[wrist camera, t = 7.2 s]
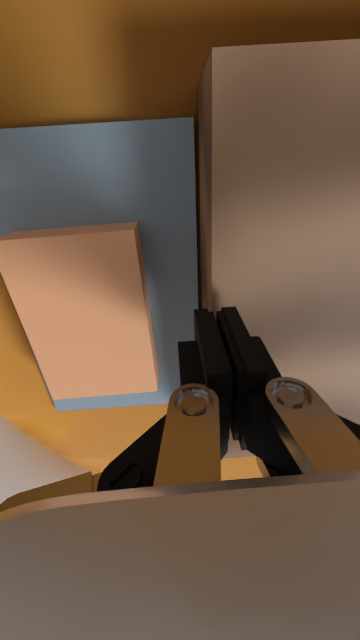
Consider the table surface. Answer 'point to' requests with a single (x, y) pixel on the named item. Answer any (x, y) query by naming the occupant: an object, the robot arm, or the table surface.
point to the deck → (285, 206)
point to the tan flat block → (84, 307)
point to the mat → (116, 214)
